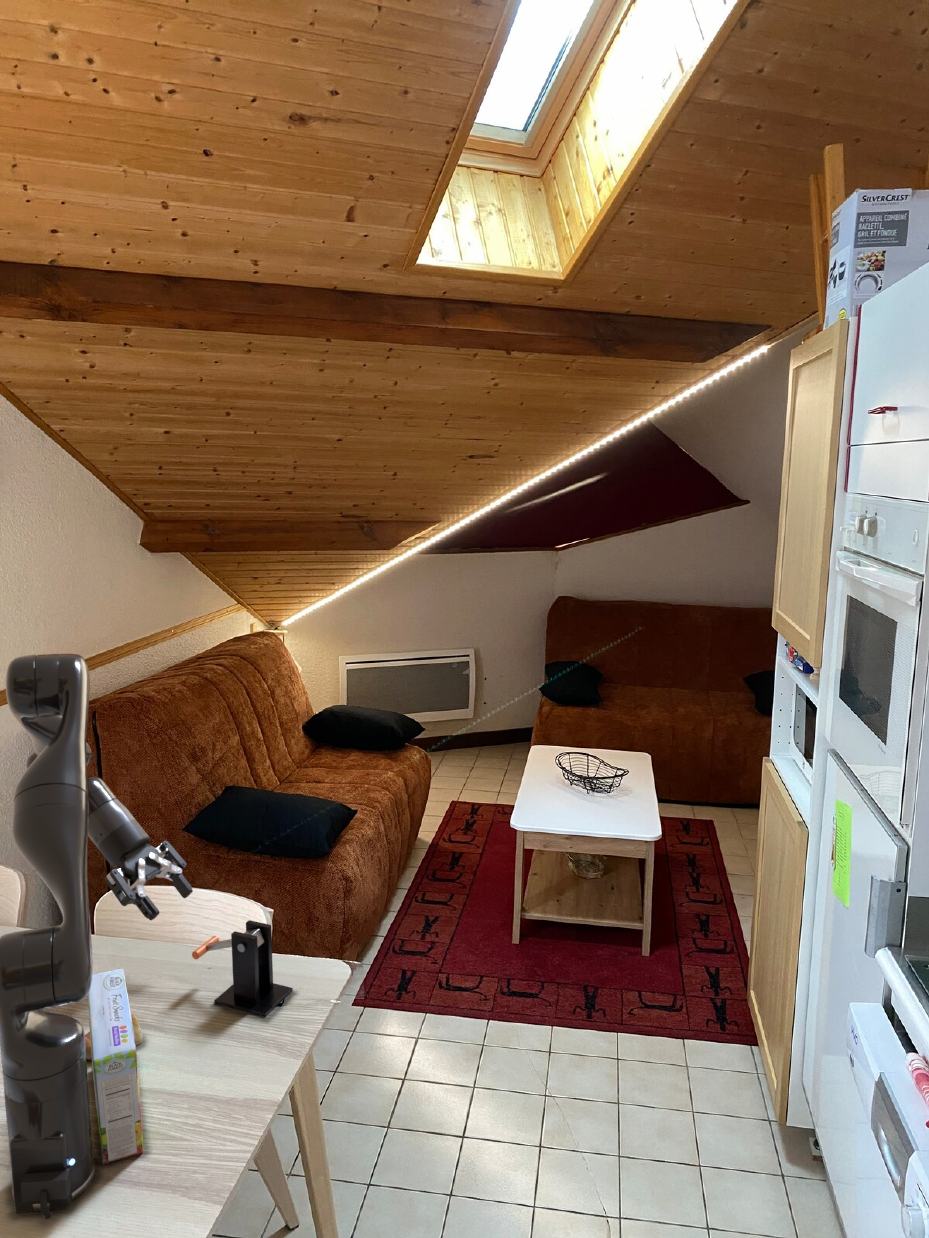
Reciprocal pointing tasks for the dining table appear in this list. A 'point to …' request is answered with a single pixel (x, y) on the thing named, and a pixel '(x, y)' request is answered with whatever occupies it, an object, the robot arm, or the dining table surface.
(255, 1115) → the dining table surface
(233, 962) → the bracket
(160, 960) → the dining table surface
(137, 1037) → the pastry
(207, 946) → the lever
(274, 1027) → the dining table surface
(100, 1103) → the snack box
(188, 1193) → the dining table surface
